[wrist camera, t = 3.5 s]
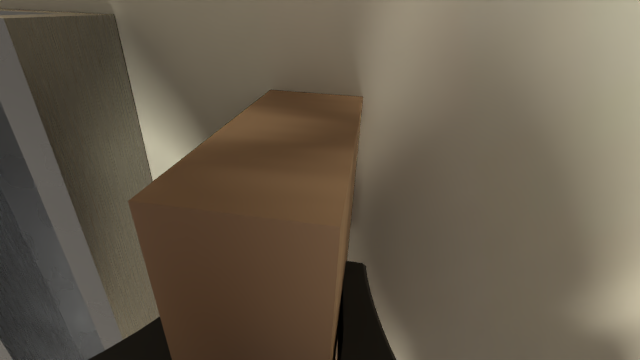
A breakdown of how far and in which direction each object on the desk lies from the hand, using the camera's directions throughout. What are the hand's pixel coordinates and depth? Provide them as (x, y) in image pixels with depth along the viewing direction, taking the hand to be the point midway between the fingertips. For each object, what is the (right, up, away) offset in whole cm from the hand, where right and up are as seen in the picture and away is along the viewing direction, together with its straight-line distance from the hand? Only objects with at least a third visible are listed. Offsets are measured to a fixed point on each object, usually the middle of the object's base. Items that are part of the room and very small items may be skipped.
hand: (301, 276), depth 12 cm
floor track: (-10, -1, +4) cm, 11 cm away
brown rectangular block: (0, +1, +2) cm, 2 cm away
